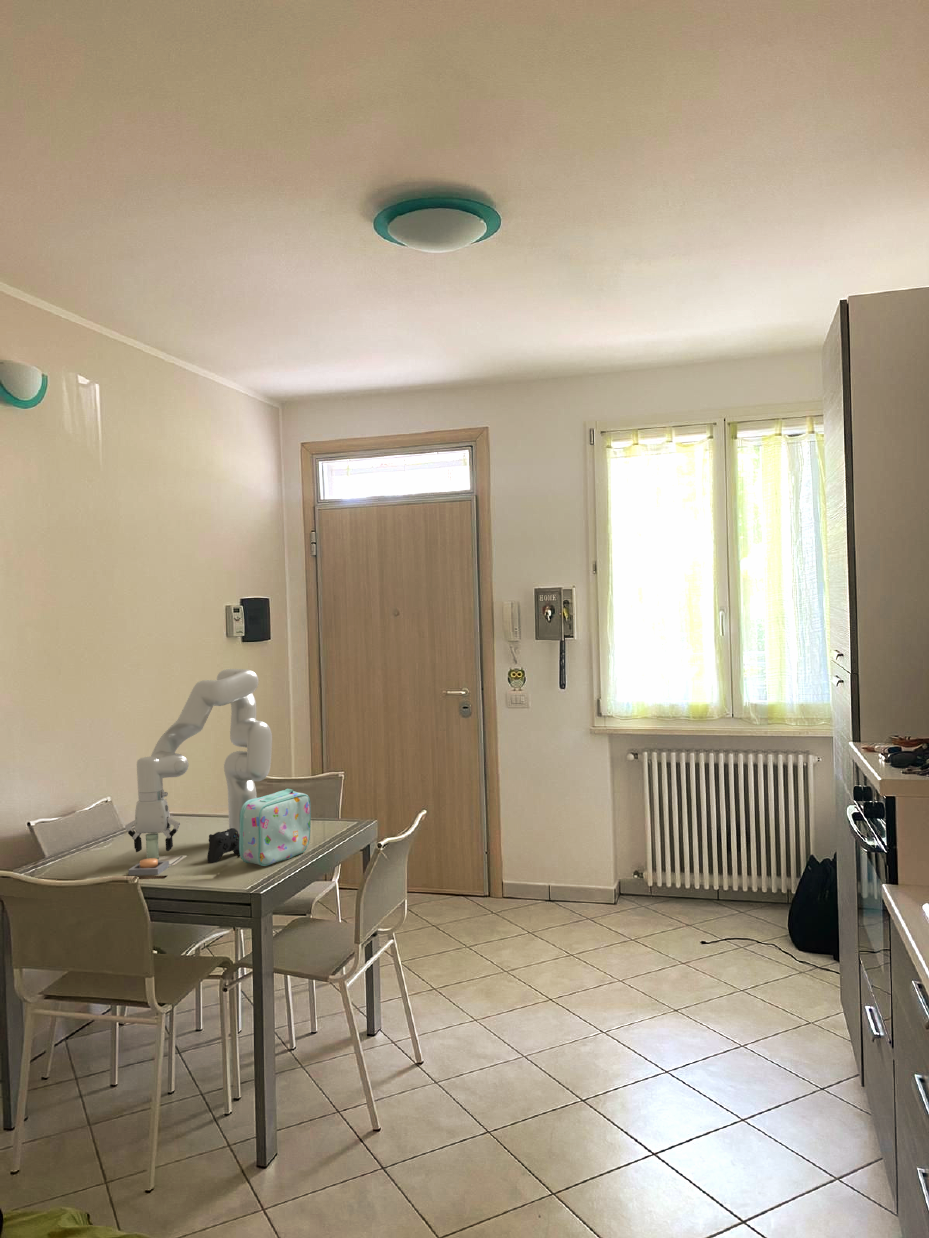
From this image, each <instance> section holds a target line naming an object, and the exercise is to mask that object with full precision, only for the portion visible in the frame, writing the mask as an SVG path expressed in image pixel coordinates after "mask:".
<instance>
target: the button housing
mask: <svg viewBox="0 0 929 1238" xmlns="http://www.w3.org/2000/svg"><path fill="white" fill-rule="evenodd" d="M169 867H170V866H169V861H158V866H157V867H154V868H140V861H139V862H138V863H136V864H134V865H133V866H132V867H130V868H129V869H128V870H127V871H128V876H159V875H161V873H162V872H165V870H167V869H168V868H169Z"/></svg>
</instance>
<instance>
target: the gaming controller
mask: <svg viewBox="0 0 929 1238" xmlns="http://www.w3.org/2000/svg"><path fill="white" fill-rule="evenodd" d="M239 837H240V835H239V833H238V831H237V830H236V829H235V828H230V829H229V828H228V829H226V830H223V831H217V832H215V833H213V834H209V835H208V842H209V843H208V844H209V845H208V850H207V856H206V857H207V859H206V860H207V863H208V864H214V863H218V862H219V860H220V859H221V858H222V857H223V855H224V854H227V853H230V852H233V854H234V855H237V856H240V853H239Z"/></svg>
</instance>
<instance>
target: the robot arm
mask: <svg viewBox="0 0 929 1238" xmlns="http://www.w3.org/2000/svg"><path fill="white" fill-rule="evenodd" d="M259 681H260V680H259V676H258V674H257V673H256V672H255V671H253V670H251V669H248V668H246V669H243V668H240V669H239V668H227V669H223V670H221V671H220V672H218V673H217V676H216V679H213V680H212V679H204V680H200V681H198V682H196V683H195V684H194V686H193V687H192V689H191V692H190V694H189V695H188V698H187V700H186V702H185V704H184V706H183V708H182V710H181V712H180V715H179V716H178V718H177V719H176V720H175V722H174V723H172V725H170V727H168V729H167V730H166V731H164V733H163V734H162V735H161V736H160V737H159V739H158V741H157V742H156V744H155V746H154V748H153V750H152V753H151V754H150V756H144V757H140V758H139V759H137V761H136V776H137V777H136V779H137V798H138V800H137V802H136V805H135V813H134V819H133V820H132V821H130V822H129V823H126V824H125V825H124V828H125V830H126V832H127V834H128V835H129V836H130V837H131V838H132V839H133V844H134V845H133V846H134V850H135V853H139V852H141V851H142V849H143V845H142V843H143V842H142V838H141V835H142V834H150V833H158V834H160V833H162V834H163V835H164V836H165V837H166V838H165V839H164V841H165V851H166V852H169V851H170V850H172V848H173V846H174V842H173V841H174V840H173V837H174V836H175V834H176V833H177V832H178V830H179V828H180V825H181V823H180V822H179V821H177V820H175V819H173V818H171V814H170V809H169V804H168V801H167V798H165V797H169V796H168V795H169V794H168V791H165V789H164V783H163V782H164V781H163V779H165V778H178V777H181V776H183V775H184V774H186V772H187V771H188V770H189V765H190V764H189V760H188V758H187V757H186V756H184V755H182V754H181V753H176V752H177V750H178V748H179V747H180V745H182V744H183V743H184V742H185V741H186V740H188V739H190V738H192V737H194V736H195V735H197V734H199V733H200V732H201V731H203V729H204V727H205V724H206V722H207V721H208V718H209V716H210V715H211V712H212V710H213V708H214V707H222V706H226V705H229V704H230V710H231V712H230V713H231V715H230V731H229V738H230V742H231V743H232V745H234V746H235V747H239V748H246V751H244V750H238V751H237V750H236V751H233V752H231V753H229V755H227V756H226V758H225V759H224V764H223V771H224V775H225V780H226V785H227V806H228V807H227V808H228V829H230V828H235V829H236V830H237V831H238V833H239V835H240V811H241V808H242V806H243V804H244V803H245V802H246V801H248V800H250V799H254V798H258V797H257V788H256V783H255V782H260V781H263V780H265V779H266V778H267V777H268V775H269V773H270V770H271V767H272V765H271V764H272V753H273V752H272V749H273V748H272V747H273V733H272V729H271V727H270V726H269V724H268V723H266V722H265V721H262V720H257V700H256V697H255V695H254V692H255V691H256V690H257V688H258V686H259ZM133 826H134V829H133ZM172 826H173V829H171V827H172Z"/></svg>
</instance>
